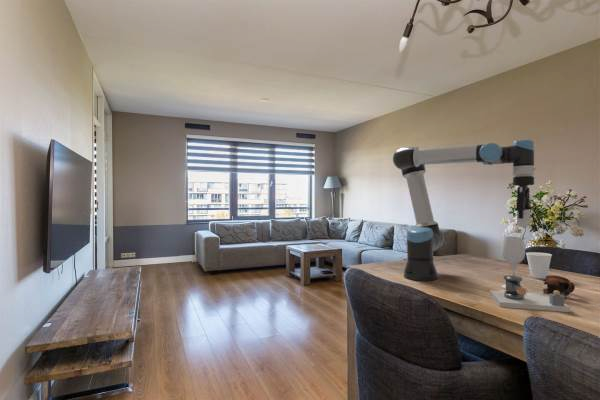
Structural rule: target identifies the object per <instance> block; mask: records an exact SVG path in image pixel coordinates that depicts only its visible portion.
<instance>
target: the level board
mask: <svg viewBox="0 0 600 400" xmlns="http://www.w3.org/2000/svg"><path fill="white" fill-rule="evenodd" d="M504 292H506V290H505V291H504V290H490V292H489V294H490V296H491V297H492V298H493V300H494V301H495V302H496V303H497V305H498V306H499V307H500V308H501V307H502V308H511V309H512V308H513V309H524V310H525V309H526V310H534V311H535V310H537V311H539V310H540V311H549V312H550V311H551V312H561V313H562V312H563V313H571V306H569V305H568V304H566V303H565V295H563V294H562V295H561V294H560V292H559V291H558V290H555V291H553V294H544V293H538V292H537V293H536V292H526V295H524V299H511V298H507V297H505V296H504Z"/></svg>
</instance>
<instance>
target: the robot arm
mask: <svg viewBox="0 0 600 400" xmlns="http://www.w3.org/2000/svg"><path fill="white" fill-rule="evenodd" d="M392 162H393V164H394V166H395V167H396V168H397V169H398V170H401V174H402V177H403V178H404V179H406V182H407V183H406V184H407V186H408V191H409V196H410V197H409V198H410V200H411V204H412V209H413V214H414V217H415V218H414V219H415V223H416V224H415V225H414V226H413V227H411V228H409V229H408V230H407V231H406V233H407V234H406V247H407V248H406V251H407V252H406V253H407V261H406V264H405V267H404V270H403V278H405V279H408V280H413V281H422V282H425V281H426V282H428V281H435V280H438V274H439V273H438V272H437V271H438V270H437V269H436V265H435V262H434V252H435V251H437V250H439V249H440V248H441V247H443V244H444V242H445V241H444V240H445V236H444V234H443V232H442V230H440V227H439V223H438V222H436V221H435V220H434V215H433V211H432V206H431V203H430V202H431V201H430V198H429V197H430V196H429V194H428V190H427V184H426V179H425V176H424V175H425V173H426V166H425V165H445V164H446V165H448V164H468V163H469V164H470V163H482V165H485V166H486V165H487V166H489V165H490V166H493V165H503V164H512V176H513V178H512V185H513V186H518V187H517V190H516V192H517V195H516V197H517V198H516V205H515V206H516V207H515V208H514V211H516V226H517V227H523V228H525V227H526V225H530V223H531V222H530V221H531V220H530V218H531V215H530V210H533V209H532V207H531V204H530V203H531V200H530V187H528V186H534V185H535V176H533V175H535V171H536V169H537V168H536V167H535V145H534V141H533V140H532V139H519V140H515V141H513V142H512V145H509V146H500V145H499V144H497V143H495V142H487V143H485V144H475V145H474V144H473V145H472V144H470V145H458V146H457V145H455V146H444V147H442V146H441V147H440V146H439V147H427V148H420V147H418V146H402V147H399V148H397V149H396V151H394V153H393V156H392Z"/></svg>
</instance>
